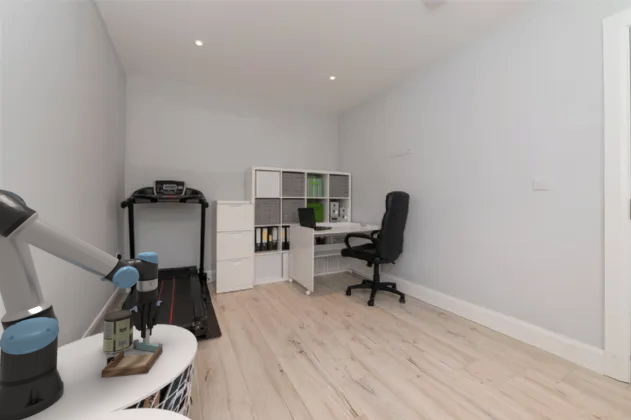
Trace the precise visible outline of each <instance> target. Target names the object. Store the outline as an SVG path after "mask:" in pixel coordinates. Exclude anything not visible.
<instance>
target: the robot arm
mask: <svg viewBox="0 0 631 420" xmlns="http://www.w3.org/2000/svg"><path fill="white" fill-rule="evenodd" d="M30 245H31V246H33V247H34V248H37V249H39V250H40V251H41V250H42V251H43V252H46V253H48V254H50V255H52V256H54V257H56V258H58V259H60V260H63V261H65V262H67V263H69V264H71V265H73V266H76V267H77V268H79V269H82V270H84V271H86V272H88V273H90V274H92V275H95V276H97V277H99V280H100V281H102V282H109V283H111V284H113V285H114V286H115V287H117V288H119V289H130V288H132V287H134V285H136V298H135V299H136V302H135V305H134V306H133V307H132V308H129V309H128V310H129V312H130V313H131V314H132V317H133V326H134V328H135V330H137V331H138V332H140V338H141V339H142V342H144V343H150V338H151V337H150V336H152V333H153V329H154V327H155V326H157V324H158V321H159V317H160V314H161V310H162V307H163V305H164V301H162V300H159V298H158V292H159V291H158V287H159V286H158V284H159V282H158V281H159V278H158V277H159V275H158V274H159V263H160V262H159V254H158V253H157V252H155V251H144V252H139V253H138V254H137V256H136V258H128V259H119V258H117V257H115V256H113V255H111V254H110V253H108V252H106V251H104V250H102V249H100V248H98V247H96V246H94V245H92V244H90V243H88V242H87V241H85V240H83V239H81V238H79V237H78V236H76V235H74V234H72V233H70V232H68V231H66V230H65V229H62V228H61V227H59V226H56V225H55V224H53V223H51V222H49V221H48V220H46V219H44V218H42V217H40V215H39V212H38V211H37V210H35V209H33V208H31V207H29V206H28V205H27V203H26V201H25V200H24V199H23V198H22V197H21V196H20V195H18V193H16V192H12V191H10V190H6V189H2V188H1V189H0V296H1V299H2V302H3V303H2V304H3V307H4V310H5V314H4V315H3V316H1V318H0V323H1V326H2V329H3V332H2V334H1V337H0V420H16V419H19V420H21V419H25V418H27V417H30V416H33V415H35V414H38V413H39V412H41V411H43V410H45V409H46V408H47V409H48V408H49V407H50V406H52V405H53V404H54V403H56V402H57V401H58V400H59V399H60V398H61V397H62V396H63V394H64V391H65V383H64V381H63V380H62V377H61V374H60V373H59V370H58V350H59V349H58V348H59V333H60V325H59V319H58V316H56V314H55V310H54V306H53V303H52V302H49V301H46V300H45V298H44V295H43V292H42V291H43V290H42V288H41V284H40V281H39V277H38V273H37V270H36V266H35V263H34V259H33V256H32V252H31V249H30ZM138 311H139V313H140V317H139V315H138V313H137V312H138Z"/></svg>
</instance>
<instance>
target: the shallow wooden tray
mask: <svg viewBox="0 0 631 420" xmlns="http://www.w3.org/2000/svg"><path fill="white" fill-rule="evenodd" d="M161 354H162V353H161V348H158V349H157V350H156V351H155V352H154V353H145V354H135V355H125V351H121V352H119V353H117V354H116V356H115V357H114V358H115V361H112V360H111V361H110V362H108V363H107V365H106V366H104V368H102V369H101V373H100V374H101V376H100V378H101V379H103V378H111V377H113V378H114V377H122V376H131V375H132V376H134V375H142V374H148V373H149V372H150V370H151V369H152V367H154V365H155V363H156V362H157V360H158V359H159V357H160V356H161Z"/></svg>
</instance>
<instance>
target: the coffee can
mask: <svg viewBox="0 0 631 420" xmlns="http://www.w3.org/2000/svg"><path fill="white" fill-rule="evenodd" d="M102 338H103V341H102V342H103V343H102V352H103V354H107V353H114V354H119V353H120V352H121V351H124V352H125V351H127V350H129V349H131V348H133V342H134V321H133V317H132V314H131V313H130V312H129V309H122V310H115V311H113V312H110V313H107V314H105V315H104V316H103V337H102ZM107 355H108V354H107Z"/></svg>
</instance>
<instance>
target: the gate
mask: <svg viewBox="0 0 631 420" xmlns="http://www.w3.org/2000/svg"><path fill="white" fill-rule="evenodd" d="M163 345H164V344H163V343H158V344H155V343H154V344H153V343H150V342H149V343H144V342H143V341H140V339H135V340H134V339H133V345H132V349H133V350H135V349H137V350H142V351H147V352H152V353H153V352H154V353H155V351H156V350H157V349H158V348H161V354H162V353H163Z"/></svg>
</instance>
